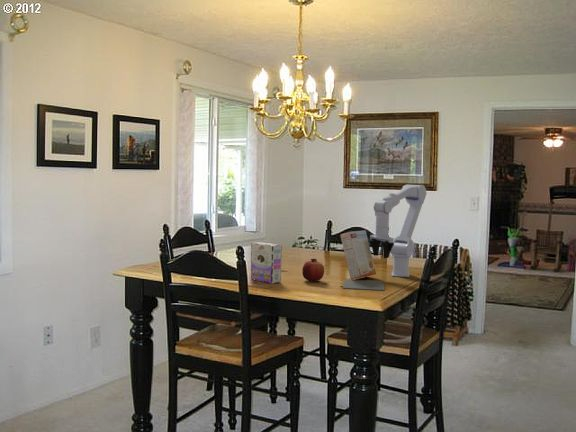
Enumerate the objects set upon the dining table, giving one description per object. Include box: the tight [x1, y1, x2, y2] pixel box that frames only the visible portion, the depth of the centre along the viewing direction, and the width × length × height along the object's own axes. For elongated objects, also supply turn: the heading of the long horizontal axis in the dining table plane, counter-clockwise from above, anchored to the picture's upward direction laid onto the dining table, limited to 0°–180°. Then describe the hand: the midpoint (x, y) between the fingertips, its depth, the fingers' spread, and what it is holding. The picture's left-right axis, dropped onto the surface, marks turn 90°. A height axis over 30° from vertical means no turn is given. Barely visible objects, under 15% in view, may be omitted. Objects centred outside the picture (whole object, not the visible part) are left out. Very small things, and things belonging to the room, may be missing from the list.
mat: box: [342, 278, 385, 292], centre depth 261 cm, size 20×17×1 cm
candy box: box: [250, 241, 283, 285], centre depth 263 cm, size 14×6×16 cm, turn 44°
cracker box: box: [339, 230, 377, 280], centre depth 277 cm, size 14×6×21 cm, turn 142°
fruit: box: [301, 258, 325, 283], centre depth 266 cm, size 11×10×10 cm
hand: (381, 256), depth 276 cm, fingers open, 7 cm apart
